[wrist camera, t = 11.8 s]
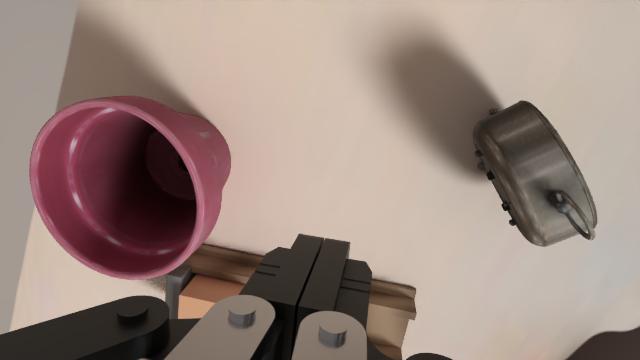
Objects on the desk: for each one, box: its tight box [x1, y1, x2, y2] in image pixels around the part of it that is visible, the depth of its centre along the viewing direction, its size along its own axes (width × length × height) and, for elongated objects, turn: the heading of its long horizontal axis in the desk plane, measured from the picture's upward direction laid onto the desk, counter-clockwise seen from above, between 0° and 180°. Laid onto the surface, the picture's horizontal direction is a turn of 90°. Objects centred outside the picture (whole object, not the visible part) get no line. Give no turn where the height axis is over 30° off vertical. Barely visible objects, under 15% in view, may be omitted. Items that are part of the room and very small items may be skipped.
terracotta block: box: [178, 273, 245, 319], centre depth 42 cm, size 6×5×6 cm
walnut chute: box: [165, 244, 416, 360], centre depth 42 cm, size 25×9×6 cm, turn 81°
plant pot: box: [29, 96, 231, 280], centre depth 36 cm, size 14×14×13 cm
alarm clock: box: [473, 101, 597, 247], centre depth 30 cm, size 11×5×16 cm, turn 30°
